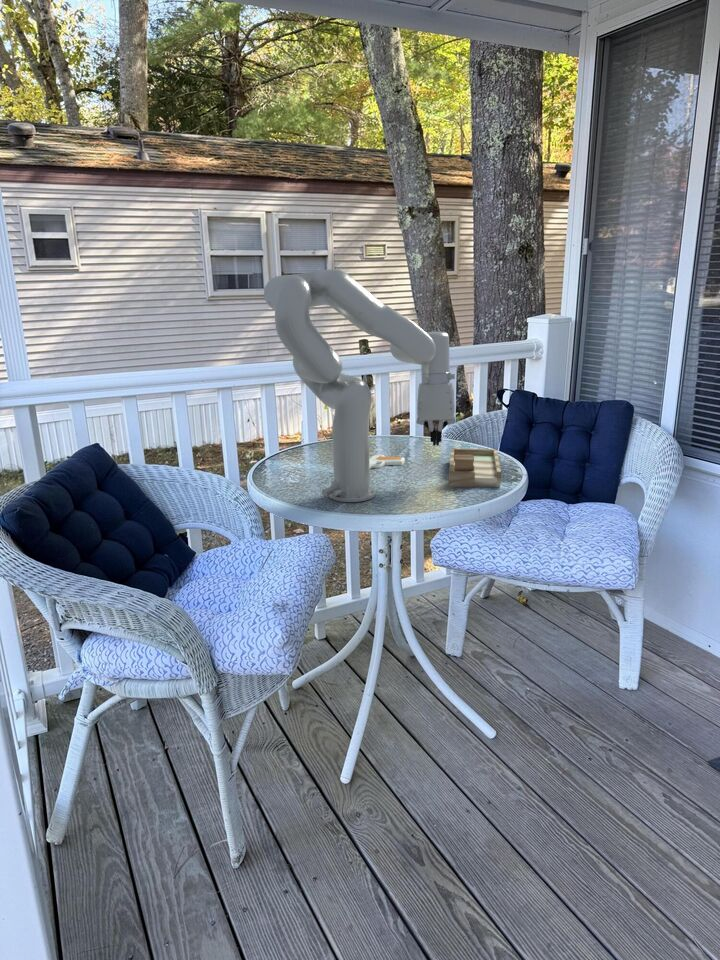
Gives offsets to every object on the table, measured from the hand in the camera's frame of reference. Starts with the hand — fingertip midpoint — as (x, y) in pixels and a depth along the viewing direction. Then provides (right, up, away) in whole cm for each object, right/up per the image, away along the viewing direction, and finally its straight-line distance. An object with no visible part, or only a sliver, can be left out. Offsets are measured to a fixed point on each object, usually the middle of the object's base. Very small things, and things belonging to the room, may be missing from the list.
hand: (436, 444), depth 178 cm
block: (+8, -8, +1) cm, 11 cm away
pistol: (-15, -7, +18) cm, 25 cm away
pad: (+17, -6, +18) cm, 25 cm away
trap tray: (+12, -8, +10) cm, 18 cm away
